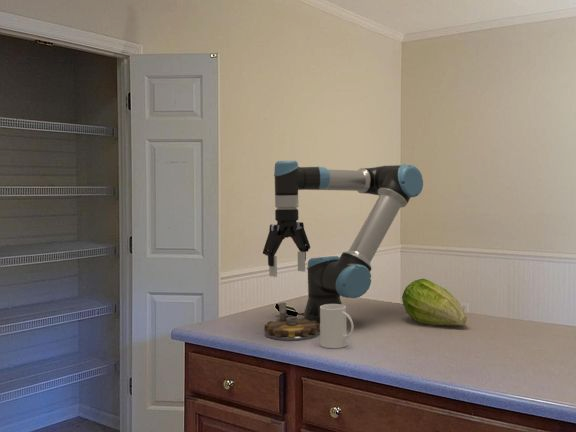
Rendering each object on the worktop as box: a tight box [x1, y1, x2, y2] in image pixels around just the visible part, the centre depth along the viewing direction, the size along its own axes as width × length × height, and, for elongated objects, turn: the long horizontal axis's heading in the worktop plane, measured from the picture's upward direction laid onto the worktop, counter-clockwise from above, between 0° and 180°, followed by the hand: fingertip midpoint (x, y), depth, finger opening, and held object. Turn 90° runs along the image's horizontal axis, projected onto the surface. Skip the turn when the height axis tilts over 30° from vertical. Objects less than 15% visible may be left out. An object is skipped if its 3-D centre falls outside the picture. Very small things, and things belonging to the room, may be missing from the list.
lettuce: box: [401, 278, 468, 326], centre depth 206 cm, size 15×25×16 cm
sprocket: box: [264, 302, 320, 337], centre depth 197 cm, size 18×18×8 cm
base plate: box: [264, 330, 320, 342], centre depth 197 cm, size 19×19×1 cm
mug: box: [319, 304, 354, 349], centre depth 181 cm, size 12×8×12 cm
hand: (287, 273), depth 191 cm, fingers open, 13 cm apart
